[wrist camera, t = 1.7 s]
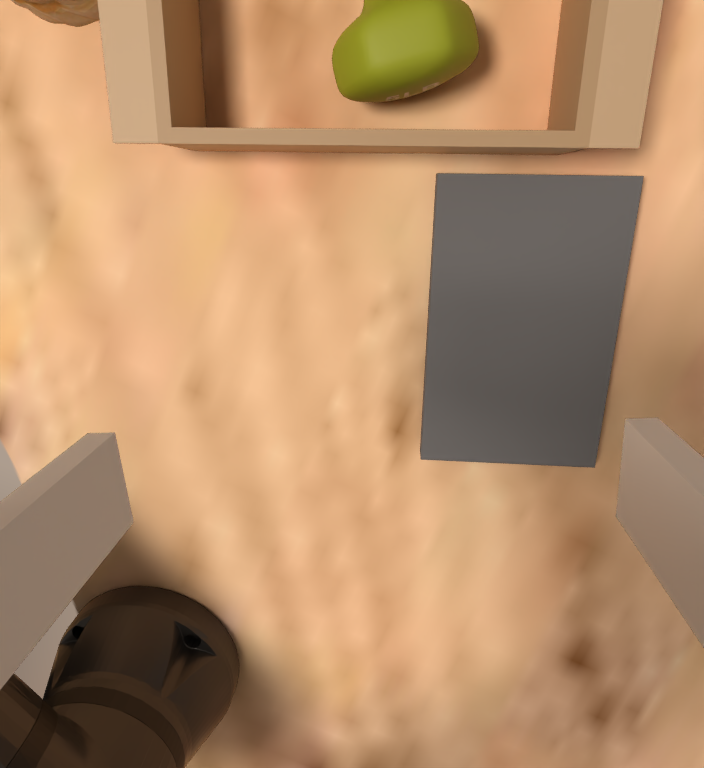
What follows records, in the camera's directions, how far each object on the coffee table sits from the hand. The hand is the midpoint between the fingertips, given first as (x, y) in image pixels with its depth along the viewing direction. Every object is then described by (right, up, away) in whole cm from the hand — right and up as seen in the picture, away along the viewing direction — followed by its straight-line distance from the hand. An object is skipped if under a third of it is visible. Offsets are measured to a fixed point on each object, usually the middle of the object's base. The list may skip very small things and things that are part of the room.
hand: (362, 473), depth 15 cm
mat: (+11, +6, +24) cm, 27 cm away
